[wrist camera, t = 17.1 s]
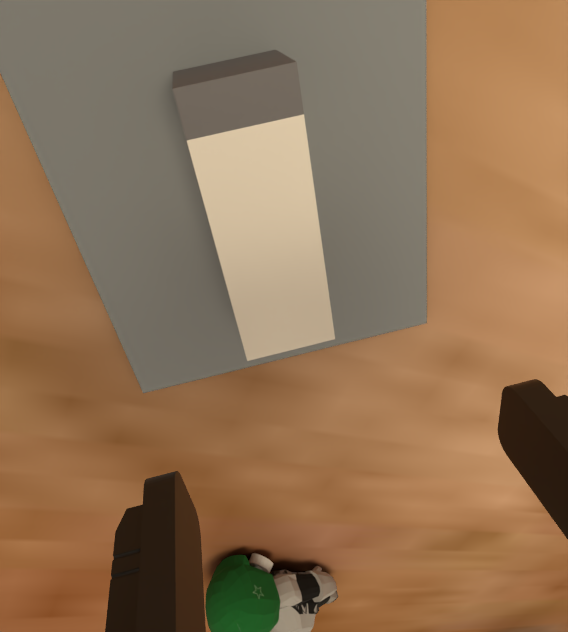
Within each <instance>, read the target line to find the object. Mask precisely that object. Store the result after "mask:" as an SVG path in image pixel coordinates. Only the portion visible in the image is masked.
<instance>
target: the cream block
mask: <svg viewBox="0 0 568 632" xmlns="http://www.w3.org/2000/svg"><path fill="white" fill-rule="evenodd" d="M172 89H173V93H174V97H175V100H176V104H177V108H178V111H179V115H180V118H181V122H182V126H183V129H184V133H185V137H186V140H187V144H188V148H189V151H190V155H191V158H192V162H193V166H194V169H195V173H196V177H197V180H198V184H199V187H200V191H201V195H202V198H203V202H204V206H205V209H206V213H207V217H208V220H209V224H210V227H211V231H212V235H213V238H214V242H215V246H216V249H217V253H218V256H219V260H220V264H221V267H222V271H223V275H224V278H225V282H226V286H227V289H228V293H229V296H230V300H231V304H232V307H233V311H234V315H235V318H236V322H237V326H238V329H239V333H240V336H241V340H242V344H243V347H244V351H245V355H246V358H247V361H250V360H254V359H258V358H262V357H266V356H270V355H274V354H278V353H282V352H286V351H290V350H294V349H298V348H302V347H306V346H310V345H314V344H318V343H322V342H326V341H330V340H334V339H335V334H334V327H333V319H332V312H331V305H330V298H329V291H328V284H327V276H326V269H325V262H324V255H323V248H322V240H321V233H320V226H319V219H318V212H317V204H316V197H315V190H314V183H313V176H312V169H311V161H310V154H309V147H308V140H307V133H306V125H305V118H304V111H303V104H302V97H301V89H300V82H299V75H298V68H297V62H296V61H294V60H293V59H291V58H289V57H288V56H286V55H284V54H283V53H281V52H279V51H277V50H271V51H267V52H262V53H257V54H253V55H248V56H243V57H239V58H234V59H229V60H225V61H220V62H215V63H211V64H206V65H202V66H197V67H192V68H188V69H183V70H178V71H174V72H173V84H172Z"/></svg>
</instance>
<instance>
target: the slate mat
mask: <svg viewBox="0 0 568 632" xmlns="http://www.w3.org/2000/svg"><path fill="white" fill-rule="evenodd" d="M271 50H277V51H279V52H281V53H283V54H284V55H286V56H288V57H289V58H291V59H293V60H294V61H296V62H297V68H298V75H299V82H300V89H301V97H302V104H303V111H304V118H305V125H306V133H307V140H308V147H309V154H310V161H311V169H312V176H313V183H314V190H315V197H316V204H317V212H318V219H319V226H320V233H321V240H322V248H323V255H324V262H325V269H326V276H327V284H328V291H329V298H330V305H331V312H332V319H333V327H334V334H335V339H334V340H330V341H326V342H322V343H318V344H314V345H310V346H306V347H302V348H298V349H294V350H290V351H286V352H282V353H278V354H274V355H270V356H266V357H262V358H258V359H254V360H250V361H247V358H246V355H245V351H244V347H243V344H242V340H241V336H240V333H239V329H238V326H237V322H236V318H235V315H234V311H233V307H232V304H231V300H230V296H229V293H228V289H227V286H226V282H225V278H224V275H223V271H222V267H221V264H220V260H219V256H218V253H217V249H216V246H215V242H214V238H213V235H212V231H211V227H210V224H209V220H208V217H207V213H206V209H205V206H204V202H203V198H202V195H201V191H200V187H199V184H198V180H197V177H196V173H195V169H194V166H193V162H192V158H191V155H190V151H189V148H188V144H187V140H186V137H185V133H184V129H183V126H182V122H181V118H180V115H179V111H178V108H177V104H176V100H175V97H174V93H173V89H172V84H173V72H174V71H178V70H183V69H188V68H192V67H197V66H202V65H206V64H211V63H215V62H220V61H225V60H229V59H234V58H239V57H243V56H248V55H253V54H257V53H262V52H267V51H271ZM0 73H1V75H2V78H3V80H4V82H5V84H6V87H7V89H8V91H9V93H10V96H11V98H12V100H13V102H14V104H15V107H16V109H17V111H18V113H19V116H20V118H21V120H22V122H23V125H24V127H25V129H26V131H27V134H28V136H29V138H30V140H31V143H32V145H33V147H34V149H35V152H36V154H37V156H38V158H39V161H40V163H41V165H42V167H43V169H44V172H45V174H46V176H47V178H48V181H49V183H50V185H51V187H52V190H53V192H54V194H55V196H56V199H57V201H58V203H59V205H60V208H61V210H62V212H63V214H64V217H65V219H66V221H67V223H68V225H69V228H70V230H71V232H72V234H73V237H74V239H75V241H76V243H77V246H78V248H79V250H80V252H81V255H82V257H83V259H84V261H85V264H86V266H87V268H88V270H89V273H90V275H91V277H92V279H93V282H94V284H95V286H96V288H97V290H98V293H99V295H100V297H101V299H102V302H103V304H104V306H105V308H106V311H107V313H108V315H109V317H110V320H111V322H112V324H113V326H114V329H115V331H116V333H117V335H118V338H119V340H120V342H121V344H122V347H123V349H124V351H125V353H126V355H127V358H128V360H129V362H130V364H131V367H132V369H133V371H134V373H135V376H136V378H137V380H138V382H139V385H140V387H141V389H142V391H143V393H146V392H150V391H154V390H158V389H162V388H167V387H171V386H175V385H179V384H183V383H187V382H191V381H195V380H199V379H203V378H207V377H211V376H215V375H219V374H223V373H227V372H231V371H235V370H239V369H243V368H247V367H251V366H255V365H259V364H263V363H268V362H272V361H276V360H280V359H284V358H288V357H292V356H296V355H300V354H304V353H308V352H312V351H316V350H320V349H324V348H328V347H332V346H336V345H340V344H344V343H348V342H352V341H356V340H360V339H365V338H369V337H373V336H377V335H381V334H385V333H389V332H393V331H397V330H401V329H405V328H409V327H413V326H417V325H421V324H425V323H427V184H426V0H0Z"/></svg>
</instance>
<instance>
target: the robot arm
mask: <svg viewBox="0 0 568 632" xmlns="http://www.w3.org/2000/svg"><path fill="white" fill-rule="evenodd" d="M498 435H499V440H500V443H501V445H502V447H503V449H504V451H505V453H506V454H507V456H508V457H509V459H510V460H511V461H512V463H513V464H514V466H515V467H516V468H517V470H518V471H519V473H520V474H521V475H522V477H523V478H524V479H525V481H526V482H527V484H528V485H529V486H530V488H531V489H532V491H533V492H534V493H535V495H536V496H537V497H538V499H539V500H540V502H541V503H542V504H543V506H544V507H545V509H546V510H547V511H548V513H549V514H550V516H551V517H552V518H553V520H554V521H555V522H556V524H557V525H558V527H559V528H560V529H561V531H562V532H563V534H564V535H565V536H566V538H567V539H568V396H566V395H562V396H559V397H556V396H555V395H554V394H553V393H552V392H551V391H550V390H549V389H548V388H547V387H546V386H545V385H544V384H543V383H542V382H541V381H539V380H536V379H534V380H530V381H526V382H522V383H518V384H514V385H511V386H507V387H505V388H504V389H503V392H502V399H501V407H500V415H499V423H498ZM113 556H114V560H113V562H112V571H111V576H112V580H111V581H110V591H109V600H108V610H107V619H106V629H105V632H206V629H205V610H204V591H203V572H202V553H201V535H200V526H199V521H198V516H197V513H196V509H195V507H194V505H193V502H192V500H191V498H190V495H189V493H188V491H187V489H186V486H185V484H184V482H183V479H182V477H181V475H180V473H179V472H178V471H175V472H171V473H167V474H164V475H160V476H156V477H152V478H148V479H146V480H145V483H144V494H143V505H140V506H136V507H132V508H128V509H127V510H126V512H125V514H124V516H123V518H122V520H121V522H120V524H119V526H118V528H117V530H116V533H115V542H114V552H113Z"/></svg>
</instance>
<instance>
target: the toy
mask: <svg viewBox="0 0 568 632" xmlns="http://www.w3.org/2000/svg"><path fill="white" fill-rule="evenodd" d="M272 566H273V562H272V561H270V560H269V559H268V558H266V557H264V556H262V555H259V554H256V553H252V554H251V557H250V560H249V561H248V559H247V557H246V556H245V555H233V556H229V557H228V558H226V559H224V560H222V562H221V563H220V564H219V565H218V566H217V568H216V570H215V572H214V574H213V576H212V580H211V581H210V584H209V586H208V588H207V592H206V606H205V607H206V616H207V621H208V626H209V628H210V630H211V632H310V631H311V630H312V628H313V626H314V620H315V614H317V612H318V611H319V607H320V606H322V605H323V604H325V603H327V604H328V603H331V602H333V601H334V600H336V599H337V598H338V595H337V591H336V590H337V587H336V583H335V581H334V579H333V577H332V576H331V575H329V574H328V573H327V572H320V571H321V570H322V568H321V567H319V566H316V567H315V568H313V569H312V570H311V571H306V572H290V571H288V570H286V569H284V570H278V571H272V572H271V573H270V570H271V568H272Z"/></svg>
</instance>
